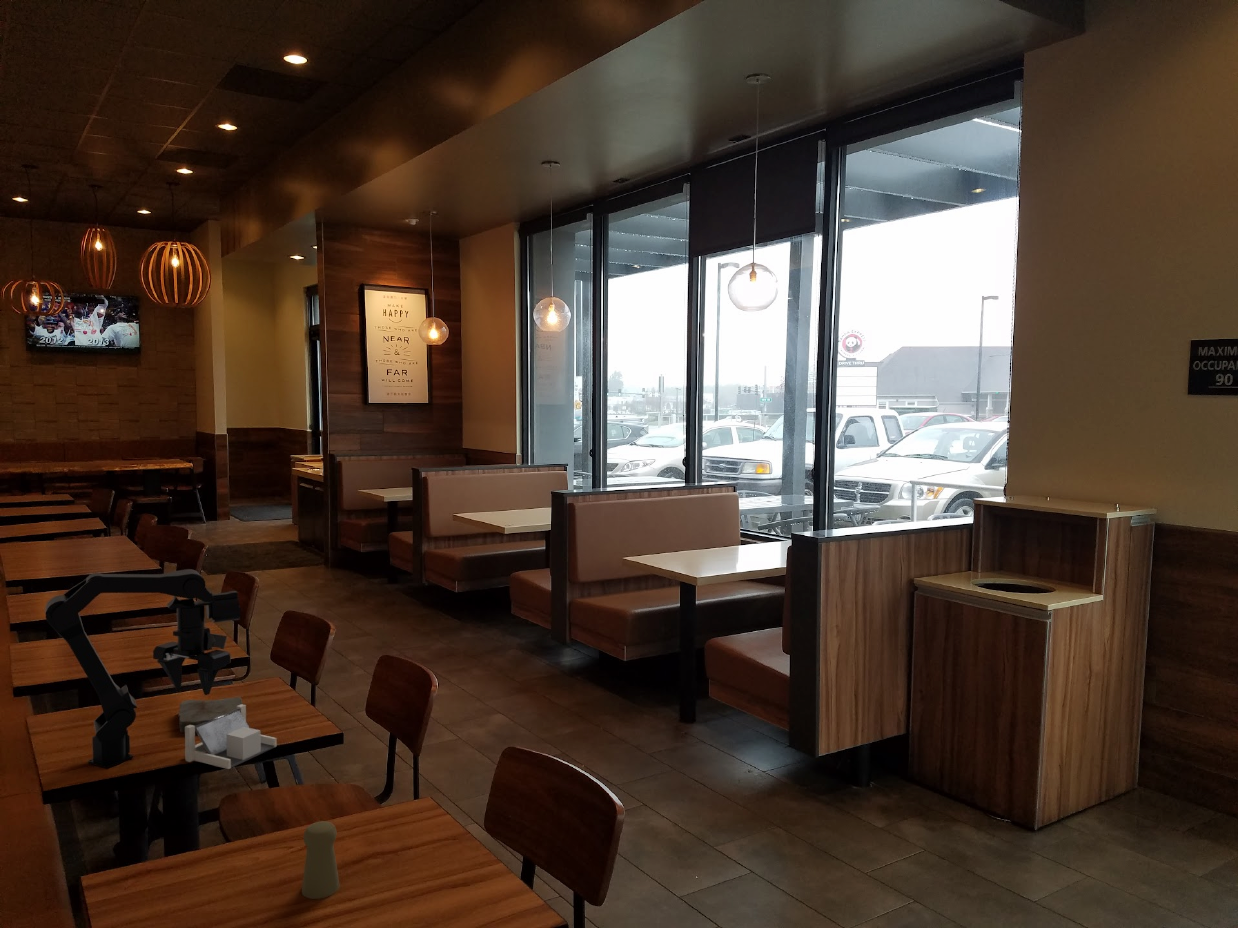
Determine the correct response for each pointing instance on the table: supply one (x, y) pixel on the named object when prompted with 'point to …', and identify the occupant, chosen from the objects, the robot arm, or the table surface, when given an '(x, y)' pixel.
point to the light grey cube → (243, 743)
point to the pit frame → (222, 759)
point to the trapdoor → (219, 731)
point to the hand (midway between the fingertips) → (192, 691)
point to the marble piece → (204, 710)
